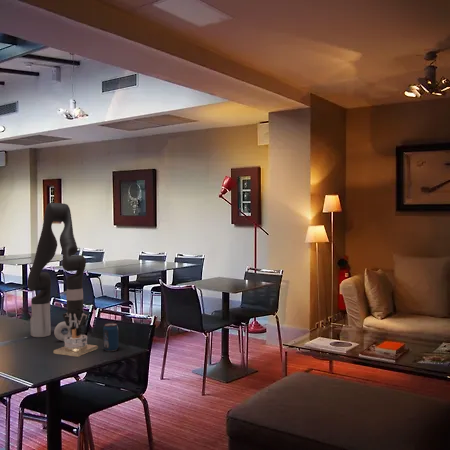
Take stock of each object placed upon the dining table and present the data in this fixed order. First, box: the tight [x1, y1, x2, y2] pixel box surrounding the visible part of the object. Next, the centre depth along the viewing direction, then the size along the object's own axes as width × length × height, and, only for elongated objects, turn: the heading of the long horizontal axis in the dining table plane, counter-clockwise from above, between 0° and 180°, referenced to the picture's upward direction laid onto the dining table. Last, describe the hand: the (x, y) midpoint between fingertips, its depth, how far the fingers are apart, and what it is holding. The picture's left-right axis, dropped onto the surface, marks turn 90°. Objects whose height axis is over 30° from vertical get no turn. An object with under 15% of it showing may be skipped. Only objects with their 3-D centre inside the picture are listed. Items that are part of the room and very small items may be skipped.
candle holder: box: [53, 334, 99, 358], centre depth 238 cm, size 14×14×6 cm
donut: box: [53, 320, 71, 342], centre depth 257 cm, size 10×4×10 cm, turn 113°
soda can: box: [102, 322, 120, 352], centre depth 240 cm, size 7×7×12 cm
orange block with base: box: [70, 327, 83, 339], centre depth 238 cm, size 6×6×6 cm
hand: (75, 335), depth 238 cm, fingers open, 2 cm apart
